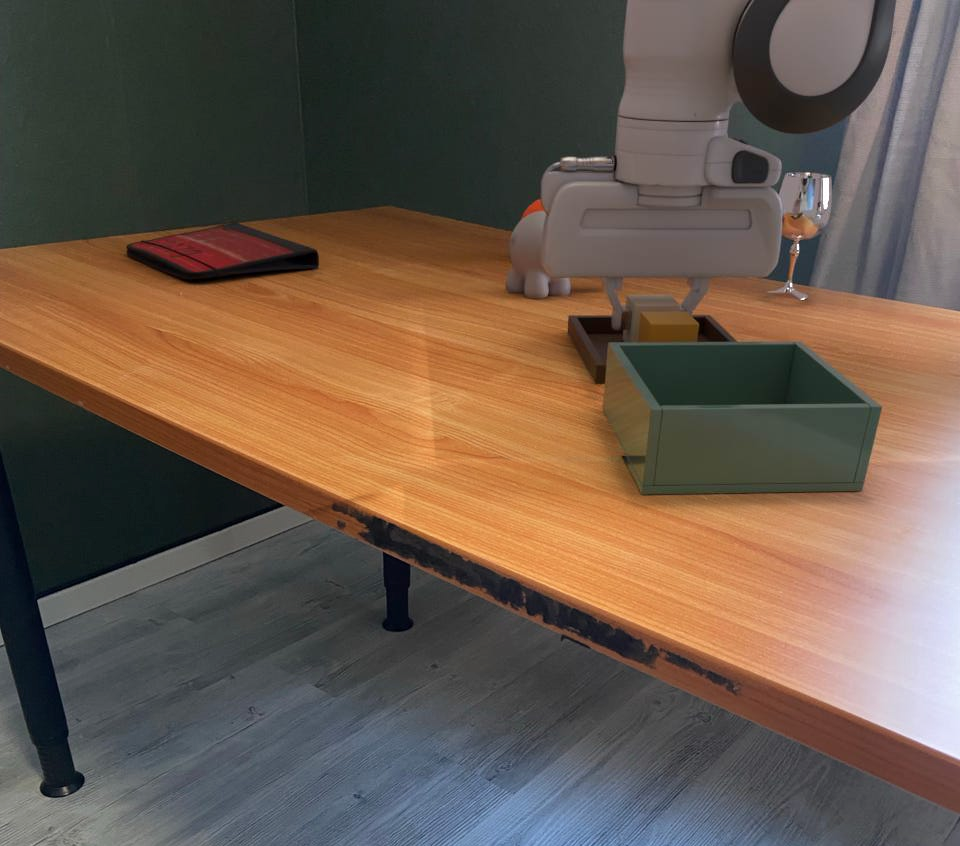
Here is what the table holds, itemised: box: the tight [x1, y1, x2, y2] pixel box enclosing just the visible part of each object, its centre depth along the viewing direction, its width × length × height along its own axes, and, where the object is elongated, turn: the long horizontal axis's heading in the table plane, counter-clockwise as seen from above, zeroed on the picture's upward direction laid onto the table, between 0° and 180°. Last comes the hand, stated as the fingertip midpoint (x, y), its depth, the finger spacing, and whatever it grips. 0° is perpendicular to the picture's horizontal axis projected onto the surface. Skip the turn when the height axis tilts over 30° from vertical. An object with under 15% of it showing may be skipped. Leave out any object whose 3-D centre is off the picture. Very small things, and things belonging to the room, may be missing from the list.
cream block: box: [623, 293, 681, 342], centre depth 88 cm, size 4×4×4 cm
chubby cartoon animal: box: [504, 211, 571, 300], centre depth 105 cm, size 7×12×8 cm, turn 119°
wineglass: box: [766, 171, 833, 301], centre depth 105 cm, size 6×6×12 cm
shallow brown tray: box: [567, 314, 739, 385], centre depth 86 cm, size 13×15×2 cm
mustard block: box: [638, 311, 699, 342], centre depth 83 cm, size 4×4×4 cm
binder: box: [125, 221, 320, 280], centre depth 119 cm, size 16×2×21 cm
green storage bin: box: [602, 340, 883, 496], centre depth 68 cm, size 14×14×6 cm
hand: (650, 328), depth 88 cm, fingers closed on cream block, 4 cm apart
